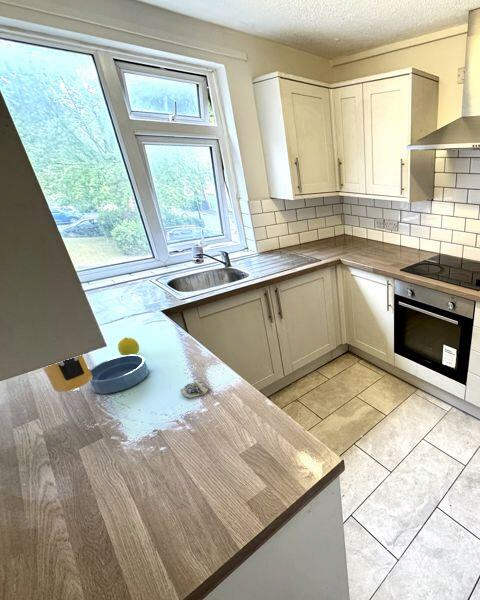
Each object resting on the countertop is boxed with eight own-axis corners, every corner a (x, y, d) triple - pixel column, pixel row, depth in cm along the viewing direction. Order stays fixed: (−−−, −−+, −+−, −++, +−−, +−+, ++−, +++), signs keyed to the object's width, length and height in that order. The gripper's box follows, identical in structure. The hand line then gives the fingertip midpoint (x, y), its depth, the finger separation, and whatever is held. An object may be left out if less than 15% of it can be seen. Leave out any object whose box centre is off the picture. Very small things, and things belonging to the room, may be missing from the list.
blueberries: (194, 381, 103) (192, 376, 103) (215, 385, 101) (213, 380, 101) (175, 395, 97) (173, 390, 97) (197, 400, 95) (196, 395, 95)
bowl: (105, 401, 95) (98, 387, 93) (84, 385, 101) (78, 372, 99) (157, 375, 106) (152, 362, 104) (136, 362, 112) (131, 350, 110)
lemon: (145, 355, 116) (138, 336, 113) (127, 363, 112) (119, 343, 109) (137, 351, 119) (130, 332, 116) (119, 358, 115) (111, 339, 111)
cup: (60, 395, 73) (44, 365, 70) (49, 385, 76) (34, 356, 73) (97, 379, 78) (85, 350, 75) (86, 370, 81) (73, 342, 78)
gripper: (-3, 298, 70) (33, 368, 77) (23, 318, 62) (61, 393, 69) (45, 288, 76) (74, 353, 83) (74, 304, 68) (104, 375, 75)
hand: (68, 371), depth 76 cm, fingers closed on cup, 6 cm apart
